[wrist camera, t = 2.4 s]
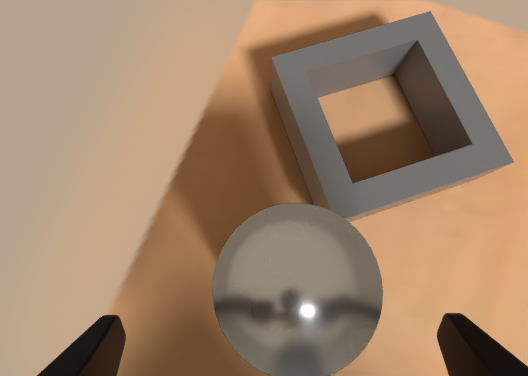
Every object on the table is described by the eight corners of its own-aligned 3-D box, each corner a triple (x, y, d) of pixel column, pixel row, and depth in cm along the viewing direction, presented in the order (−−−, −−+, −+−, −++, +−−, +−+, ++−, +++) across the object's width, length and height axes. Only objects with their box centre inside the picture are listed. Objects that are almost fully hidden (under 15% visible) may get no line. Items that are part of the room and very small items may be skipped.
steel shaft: (336, 307, 19) (411, 344, 9) (253, 336, 18) (241, 407, 9) (306, 225, 20) (344, 182, 10) (228, 251, 20) (192, 231, 10)
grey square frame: (473, 180, 21) (513, 162, 17) (323, 230, 20) (335, 221, 17) (406, 49, 23) (430, 11, 20) (270, 89, 22) (271, 56, 19)
